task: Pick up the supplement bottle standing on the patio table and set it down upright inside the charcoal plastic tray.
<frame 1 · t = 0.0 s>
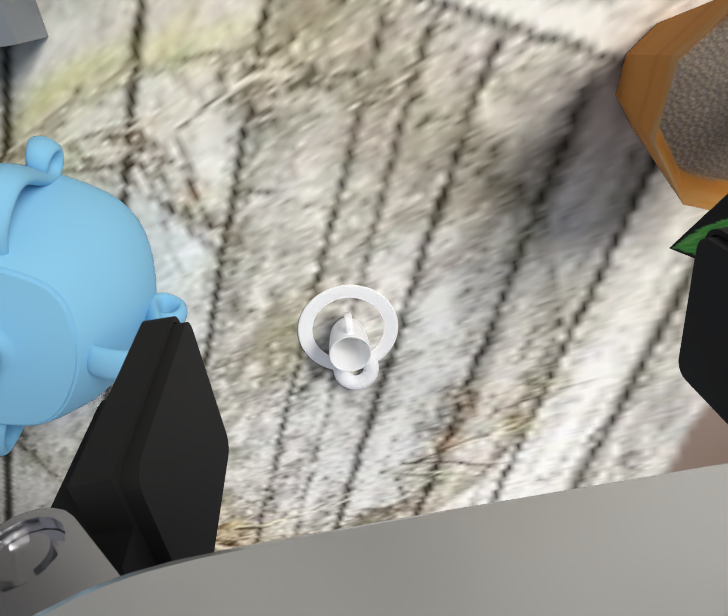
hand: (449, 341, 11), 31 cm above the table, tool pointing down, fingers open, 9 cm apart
decorative pot: (56, 259, 42), on the table
potted plant: (671, 77, 40), on the table
teacup and saucer: (318, 346, 49), on the table
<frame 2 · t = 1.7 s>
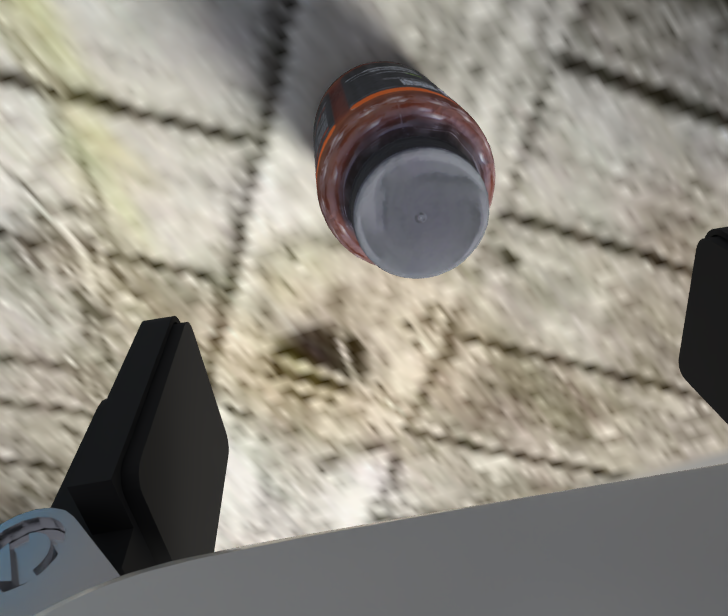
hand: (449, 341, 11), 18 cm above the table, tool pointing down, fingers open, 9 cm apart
supplement bottle: (379, 128, 27), on the table
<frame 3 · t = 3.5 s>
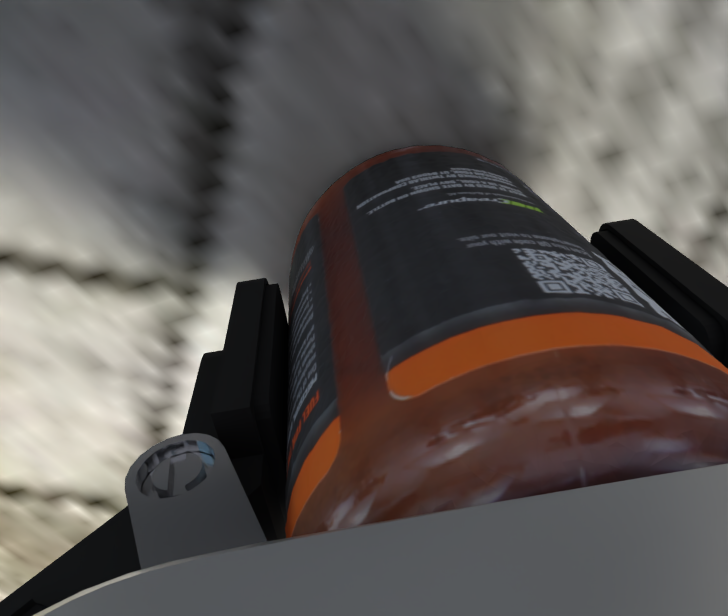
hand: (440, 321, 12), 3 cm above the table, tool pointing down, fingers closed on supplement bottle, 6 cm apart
supplement bottle: (416, 261, 14), on the table, touching gripper
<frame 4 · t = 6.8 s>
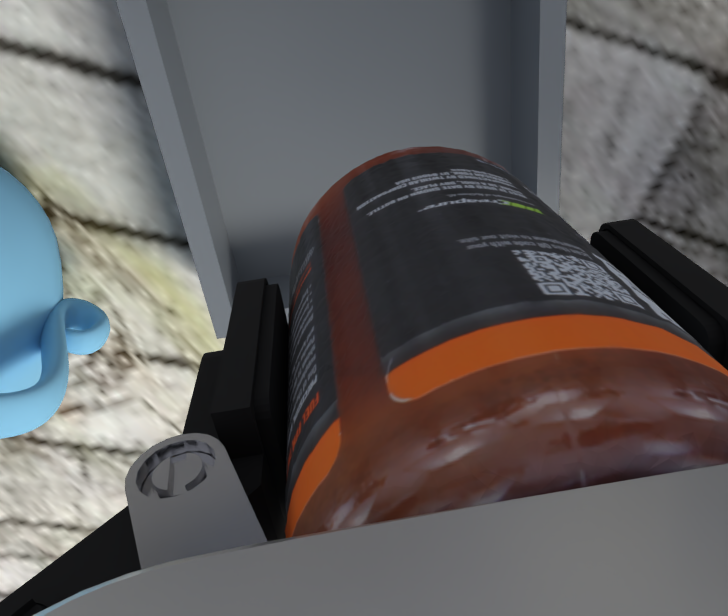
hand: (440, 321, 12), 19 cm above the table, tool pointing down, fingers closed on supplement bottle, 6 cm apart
tray: (356, 116, 28), on the table
supplement bottle: (417, 262, 14), point 16 cm above the table, touching gripper
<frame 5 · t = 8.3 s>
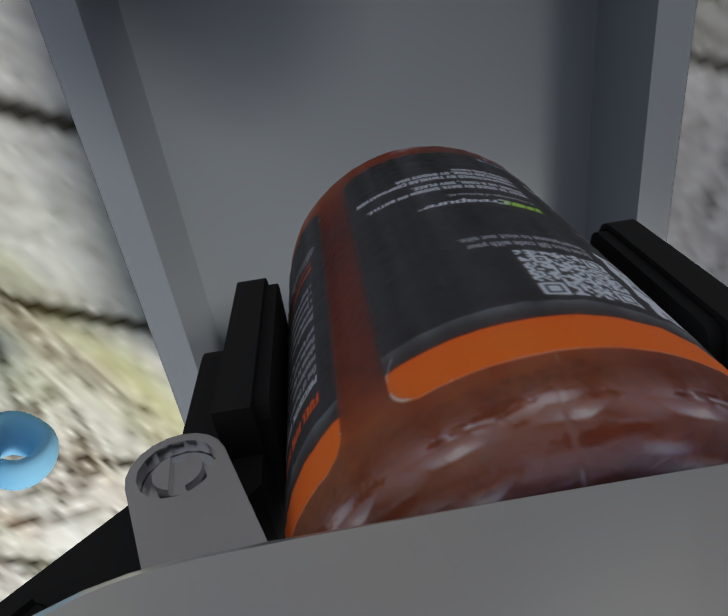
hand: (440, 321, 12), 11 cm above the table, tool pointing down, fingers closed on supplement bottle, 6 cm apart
tray: (383, 170, 21), on the table
supplement bottle: (417, 262, 14), point 8 cm above the table, touching gripper
when the fingers open (4 cm above the table, at t = 9.9 s): supplement bottle stays where it is, resting on tray.
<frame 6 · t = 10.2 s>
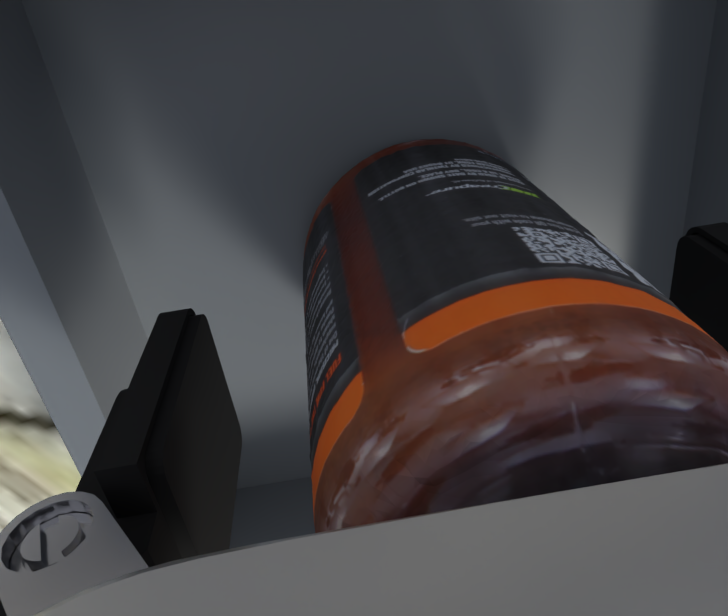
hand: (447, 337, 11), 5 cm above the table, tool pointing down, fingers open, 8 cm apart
tray: (404, 233, 16), on the table
supplement bottle: (421, 249, 15), point 1 cm above the table, touching tray
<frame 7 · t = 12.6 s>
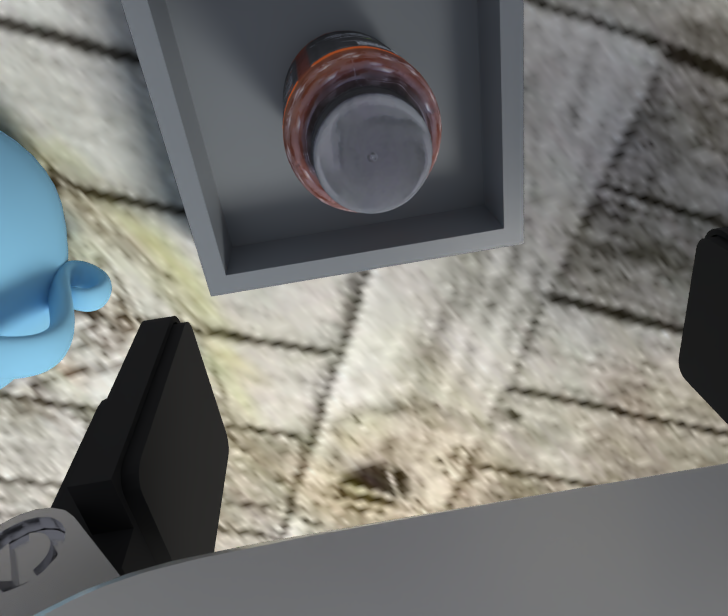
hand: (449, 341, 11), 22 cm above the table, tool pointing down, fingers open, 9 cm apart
tray: (337, 89, 30), on the table
supplement bottle: (344, 94, 29), point 1 cm above the table, touching tray
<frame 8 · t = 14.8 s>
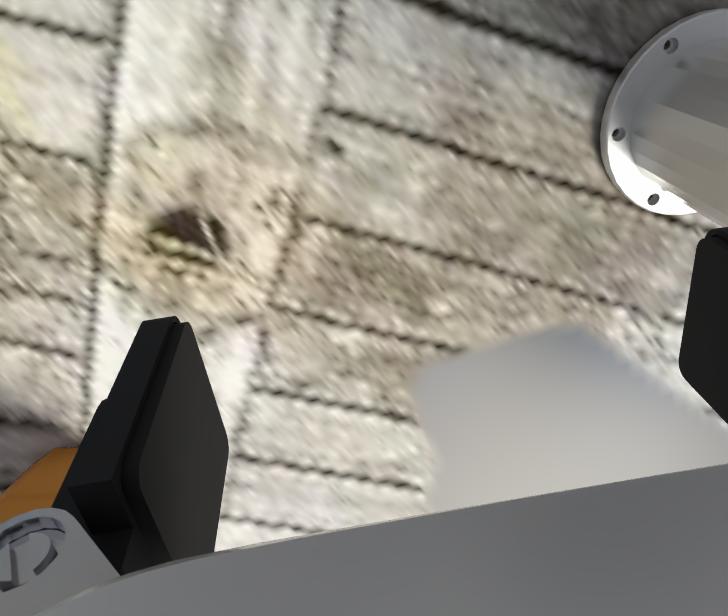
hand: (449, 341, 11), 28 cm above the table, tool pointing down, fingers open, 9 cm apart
potted plant: (80, 480, 49), on the table
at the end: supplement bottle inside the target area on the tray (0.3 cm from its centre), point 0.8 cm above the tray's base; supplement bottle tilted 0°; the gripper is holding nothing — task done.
